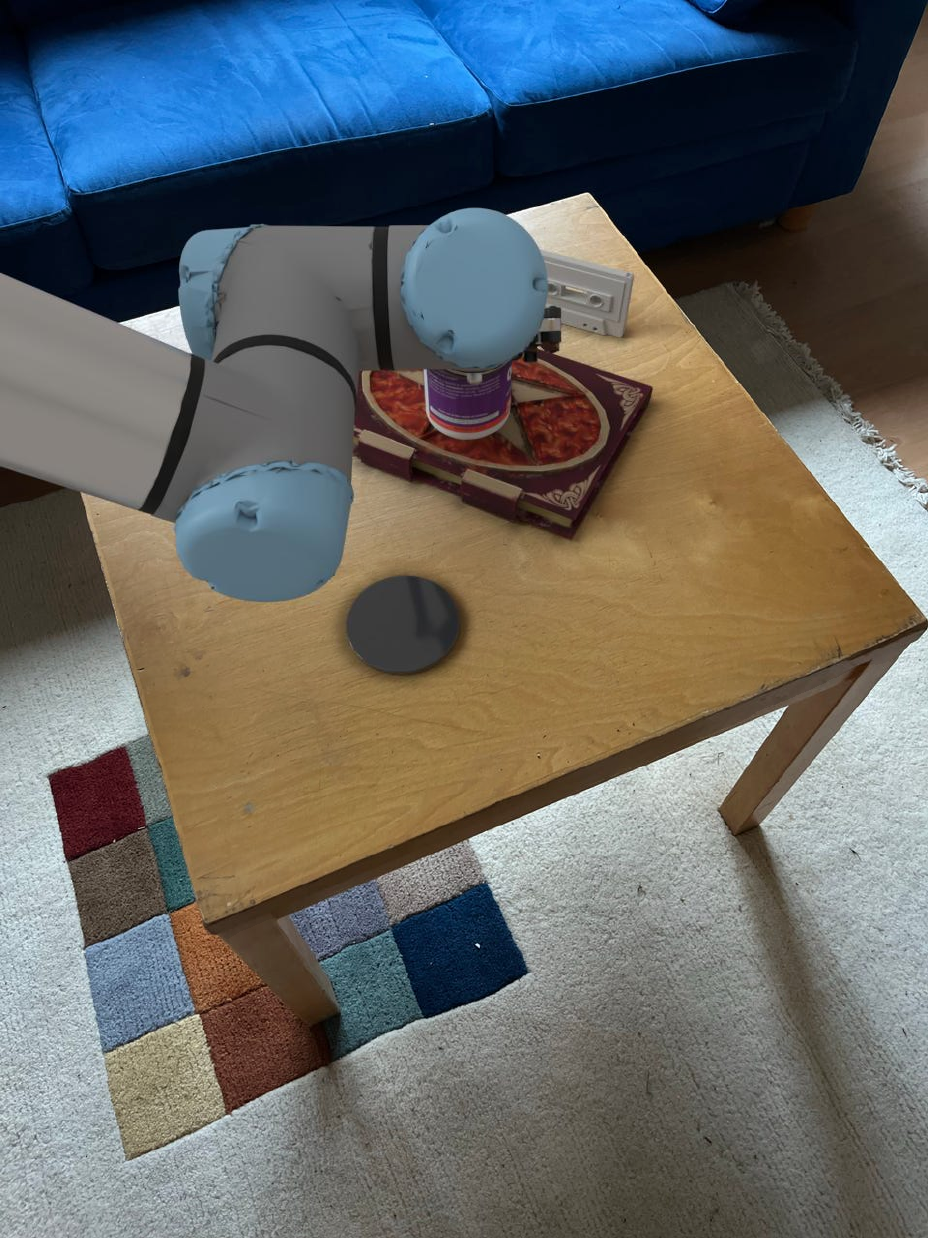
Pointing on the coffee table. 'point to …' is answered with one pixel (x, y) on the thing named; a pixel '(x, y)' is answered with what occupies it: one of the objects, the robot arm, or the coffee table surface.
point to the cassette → (588, 294)
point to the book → (508, 439)
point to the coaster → (402, 625)
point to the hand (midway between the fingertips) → (466, 347)
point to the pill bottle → (467, 403)
